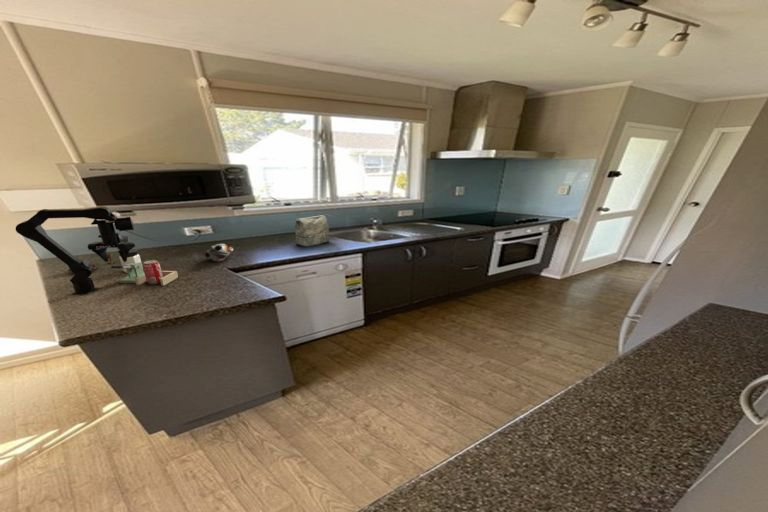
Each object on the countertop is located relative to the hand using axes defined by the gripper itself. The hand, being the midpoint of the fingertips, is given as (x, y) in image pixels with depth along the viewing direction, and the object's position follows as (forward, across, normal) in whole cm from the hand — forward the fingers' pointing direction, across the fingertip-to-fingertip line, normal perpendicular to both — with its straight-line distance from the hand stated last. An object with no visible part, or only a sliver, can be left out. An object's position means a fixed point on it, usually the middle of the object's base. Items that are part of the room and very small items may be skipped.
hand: (116, 261), depth 147 cm
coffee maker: (+13, -1, -9) cm, 16 cm away
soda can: (+13, -14, -3) cm, 20 cm away
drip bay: (+13, -15, -5) cm, 20 cm away
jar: (+13, +11, -21) cm, 27 cm away
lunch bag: (+13, -83, -85) cm, 119 cm away
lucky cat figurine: (+13, -30, -42) cm, 53 cm away
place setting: (+13, +36, -23) cm, 45 cm away
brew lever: (+6, -1, -4) cm, 7 cm away
